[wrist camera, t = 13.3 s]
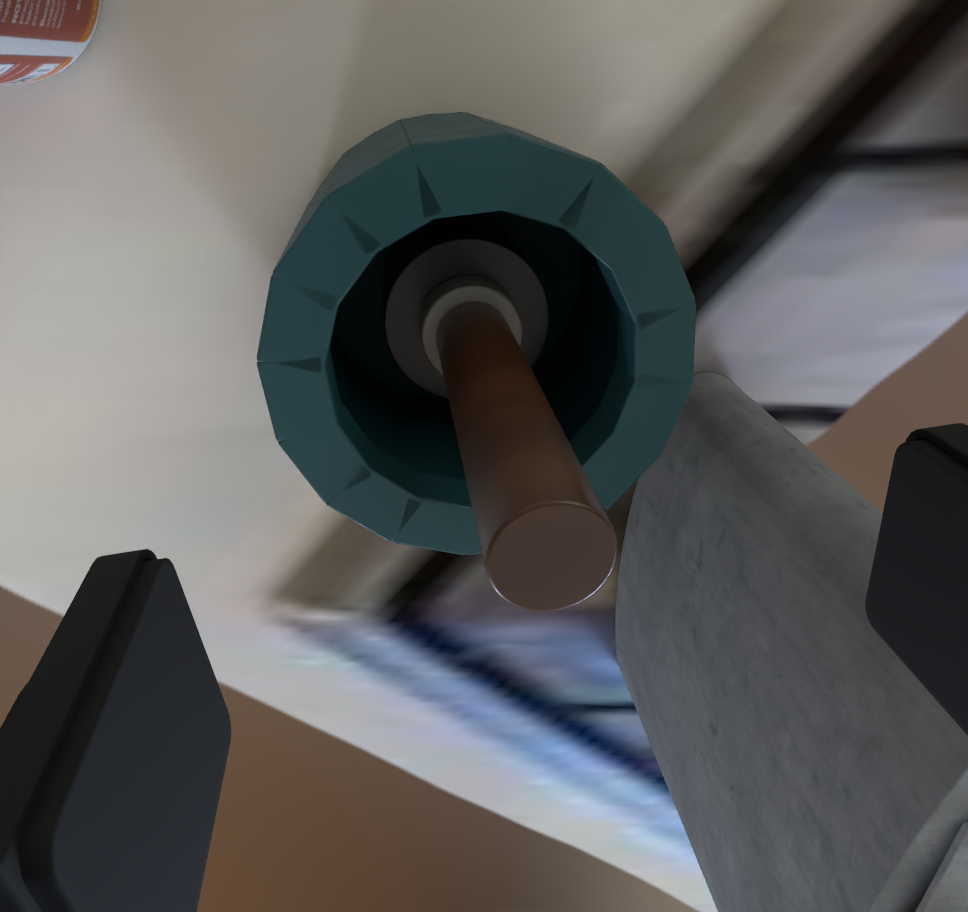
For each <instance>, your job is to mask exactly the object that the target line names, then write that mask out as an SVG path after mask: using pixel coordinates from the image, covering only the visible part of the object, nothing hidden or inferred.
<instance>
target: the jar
mask: <svg viewBox="0 0 968 912" xmlns="http://www.w3.org/2000/svg"><path fill="white" fill-rule="evenodd" d="M478 213H479V214H482V215H483V216H485V217H487V218H489V219H491V220H492V221H493V222H495V223H496V224H497V225H498V226H499V227H500V228H501V229H502V230H504V232H505V233H506V234H507V235H508V237H509V238H510V239H511V240H512V242H513V243H514V244H515V246H516V247H517V248H518V249H519V251H520V252H521V253H522V254H523V256H524V257H525V258H526V259H527V261H528V262H529V263H530V264H531V266H532V267H533V268H534V269H535V271H536V272H537V274H538V275H539V277H540V279H541V280H542V283H543V285H544V287H545V290H546V293H547V296H548V300H549V307H550V326H549V333H548V337H547V340H546V344H545V346H544V348H543V351H542V353H541V355H540V356H539V358H538V360H537V362H536V363H535V364H534V366H533V367H532V368H531V370H532V371H533V373H534V375H535V377H536V379H537V381H538V383H539V385H540V387H541V389H542V391H543V393H544V395H545V397H546V399H547V400H548V402H549V404H550V406H551V408H552V410H553V412H554V414H555V416H556V418H557V420H558V422H559V424H560V426H561V428H562V429H563V431H564V433H565V435H566V437H567V439H568V441H569V443H570V445H571V447H572V449H573V451H574V453H575V455H576V457H577V458H578V460H579V462H580V464H581V466H582V468H583V470H584V472H585V474H586V476H587V478H588V480H589V482H590V484H591V486H592V487H593V489H594V491H595V493H596V495H597V497H598V499H599V501H600V503H601V505H602V507H603V509H604V511H605V510H606V508H607V509H609V508H610V507H611V506H612V505H613V504H614V503H615V502H616V501H617V500H618V499H619V498H620V497H621V496H622V495H623V494H624V493H625V492H626V491H627V490H628V489H629V488H630V487H631V486H632V485H633V484H634V483H635V482H636V480H637V479H638V478H639V477H640V476H641V475H642V474H643V473H644V472H645V471H646V470H647V469H648V468H649V467H650V466H651V465H652V464H653V463H654V462H655V461H656V460H657V459H658V458H659V457H660V455H661V453H662V452H663V450H664V447H665V445H666V443H667V441H668V438H669V436H670V434H671V432H672V429H673V427H674V425H675V423H676V420H677V418H678V416H679V414H680V412H681V409H682V407H683V405H684V403H685V400H686V398H687V396H688V394H689V391H690V389H691V387H692V382H693V370H694V344H695V318H696V304H695V298H694V295H693V293H692V290H691V288H690V285H689V283H688V280H687V277H686V275H685V272H684V270H683V267H682V265H681V262H680V260H679V257H678V255H677V252H676V250H675V247H674V244H673V242H672V239H671V237H670V234H669V232H668V229H667V227H666V226H665V225H664V222H663V221H662V220H661V219H660V218H659V217H658V216H657V215H656V214H655V213H654V212H653V211H652V210H650V209H649V208H648V207H647V206H646V205H645V204H644V203H643V202H642V201H641V200H640V199H639V198H638V197H637V196H636V195H635V194H634V193H633V192H631V191H630V190H629V189H628V188H627V187H626V186H625V185H624V184H623V183H622V182H621V181H620V180H619V179H618V178H617V177H616V176H615V175H614V174H612V173H611V172H610V171H609V170H608V169H607V168H606V167H605V166H604V165H603V164H601V163H599V162H598V161H596V160H593V159H591V158H588V157H586V156H583V155H581V154H578V153H576V152H573V151H571V150H568V149H566V148H563V147H561V146H558V145H556V144H554V143H551V142H549V141H546V140H544V139H541V138H539V137H536V136H534V135H531V134H529V133H526V132H524V131H521V130H518V129H515V128H512V127H509V126H506V125H503V124H500V123H497V122H494V121H492V120H488V119H485V118H482V117H478V116H475V115H472V114H469V113H463V112H458V113H447V114H429V115H423V116H418V117H413V118H406V119H401V120H400V121H399V120H397V121H396V122H394V123H392V124H391V125H389V126H387V127H385V128H383V129H381V130H379V131H377V132H375V133H373V134H371V135H370V136H369V137H367V138H366V139H364V140H363V141H361V142H360V143H359V144H357V145H356V146H354V147H353V148H351V149H350V150H348V151H346V152H345V154H343V155H342V156H341V158H340V159H339V161H338V162H337V163H336V165H335V166H334V168H333V169H332V171H331V172H330V173H329V175H328V176H327V177H326V179H325V181H324V182H323V184H322V185H321V187H320V188H319V190H318V191H317V193H316V194H315V196H314V197H313V199H312V200H311V201H310V203H309V204H308V206H307V208H306V210H305V212H304V214H303V216H302V218H301V220H300V221H299V223H298V225H297V227H296V229H295V231H294V233H293V235H292V237H291V239H290V241H289V242H288V244H287V246H286V248H285V250H284V252H283V254H282V256H281V258H280V259H279V261H278V263H277V265H276V267H275V269H274V271H273V275H272V276H271V280H270V286H269V291H268V297H267V302H266V308H265V314H264V319H263V325H262V331H261V336H260V342H259V348H258V353H257V360H258V362H257V367H258V371H259V375H260V378H261V382H262V386H263V390H264V394H265V398H266V402H267V406H268V409H269V413H270V417H271V421H272V425H273V429H274V433H275V437H276V439H277V441H278V443H279V445H280V446H281V447H282V449H283V450H284V451H285V453H286V454H287V455H288V456H289V458H290V459H291V460H292V462H293V463H294V464H295V465H296V467H297V468H298V469H299V470H300V472H301V473H302V474H303V476H304V477H305V478H306V479H307V481H308V482H309V483H310V485H311V486H312V487H313V488H314V490H315V491H316V492H317V494H318V495H319V496H320V497H321V499H322V500H323V501H324V502H325V503H326V505H327V506H329V507H331V508H333V509H334V510H336V511H338V512H339V513H341V514H343V515H345V516H346V517H348V518H350V519H351V520H353V521H355V522H357V523H358V524H360V525H362V526H363V527H365V528H367V529H369V530H370V531H372V532H374V533H375V534H377V535H379V536H381V537H382V538H384V539H386V540H387V541H389V542H392V541H393V542H394V543H398V544H404V545H410V546H415V547H421V548H427V549H432V550H438V551H443V552H449V553H455V554H460V555H465V554H467V555H473V554H479V553H482V551H481V546H480V542H479V537H478V533H477V528H476V523H475V519H474V514H473V509H472V505H471V500H470V496H469V491H468V486H467V482H466V477H465V473H464V468H463V463H462V459H461V454H460V449H459V445H458V440H457V436H456V431H455V426H454V422H453V417H452V413H451V408H450V403H449V399H447V398H443V397H439V396H436V395H434V394H431V393H429V392H427V391H425V390H423V389H422V388H420V387H418V386H417V385H415V384H414V383H413V382H412V381H410V380H409V379H408V378H407V377H406V376H405V375H404V374H403V373H402V372H401V370H400V369H399V368H398V366H397V365H396V363H395V362H394V360H393V358H392V356H391V354H390V352H389V349H388V347H387V344H386V340H385V335H384V327H383V292H382V274H383V266H384V261H385V258H386V255H387V252H388V250H389V248H390V246H391V244H393V243H394V242H396V241H398V240H399V239H401V238H403V237H404V236H406V235H408V234H410V233H411V232H413V231H415V230H416V229H418V228H420V227H422V226H423V225H425V224H427V223H428V222H430V221H432V220H434V219H437V218H445V217H454V216H462V215H470V214H478Z"/></svg>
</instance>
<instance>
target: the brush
mask: <svg viewBox="0 0 968 912" xmlns="http://www.w3.org/2000/svg"><path fill="white" fill-rule="evenodd" d="M382 292H383V327H384V335H385V340H386V344H387V347H388V349H389V352H390V354H391V356H392V358H393V360H394V362H395V363H396V365H397V366H398V368H399V369H400V370H401V372H402V373H403V374H404V375H405V376H406V377H407V378H408V379H409V380H410V381H412V382H413V383H414V384H415V385H417V386H418V387H420V388H422V389H423V390H425V391H427V392H429V393H431V394H434V395H436V396H439V397H443V398H447V399H449V403H450V408H451V413H452V417H453V422H454V426H455V431H456V436H457V440H458V445H459V449H460V454H461V459H462V463H463V468H464V473H465V477H466V482H467V486H468V491H469V496H470V500H471V505H472V509H473V514H474V519H475V523H476V528H477V533H478V537H479V542H480V546H481V551H482V556H483V560H484V565H485V569H486V574H487V577H488V579H489V582H490V583H491V585H492V587H493V588H494V589H495V591H496V592H497V593H498V594H499V595H500V596H501V597H502V598H504V599H505V600H506V601H508V602H509V603H511V604H513V605H515V606H517V607H520V608H523V609H527V610H531V611H556V610H561V609H565V608H568V607H571V606H574V605H576V604H578V603H580V602H582V601H584V600H586V599H587V598H589V597H590V596H591V595H593V594H594V593H595V592H596V591H597V590H599V589H600V588H601V586H602V585H603V584H604V583H605V582H606V580H607V579H608V577H609V576H610V574H611V572H612V570H613V568H614V565H615V562H616V557H617V550H618V544H617V537H616V533H615V531H614V528H613V526H612V524H611V522H610V520H609V518H608V516H607V514H606V513H605V511H604V509H603V507H602V505H601V503H600V501H599V499H598V497H597V495H596V493H595V491H594V489H593V487H592V486H591V484H590V482H589V480H588V478H587V476H586V474H585V472H584V470H583V468H582V466H581V464H580V462H579V460H578V458H577V457H576V455H575V453H574V451H573V449H572V447H571V445H570V443H569V441H568V439H567V437H566V435H565V433H564V431H563V429H562V428H561V426H560V424H559V422H558V420H557V418H556V416H555V414H554V412H553V410H552V408H551V406H550V404H549V402H548V400H547V399H546V397H545V395H544V393H543V391H542V389H541V387H540V385H539V383H538V381H537V379H536V377H535V375H534V373H533V371H532V370H531V368H532V367H533V366H534V364H535V363H536V362H537V360H538V358H539V356H540V355H541V353H542V351H543V348H544V346H545V344H546V340H547V337H548V333H549V326H550V307H549V300H548V296H547V293H546V290H545V287H544V285H543V283H542V280H541V279H540V277H539V275H538V274H537V272H536V271H535V269H534V268H533V267H532V266H531V264H530V263H529V262H528V261H527V259H526V258H525V257H524V256H523V254H522V253H521V252H520V251H519V249H518V248H517V247H516V246H515V244H514V243H513V242H512V240H511V239H510V238H509V237H508V235H507V234H506V233H505V232H504V230H502V229H501V228H500V227H499V226H498V225H497V224H496V223H495V222H493V221H492V220H491V219H489V218H487V217H485V216H483V215H482V214H479V213H478V214H470V215H462V216H454V217H445V218H437V219H434V220H432V221H430V222H428V223H427V224H425V225H423V226H422V227H420V228H418V229H416V230H415V231H413V232H411V233H410V234H408V235H406V236H404V237H403V238H401V239H399V240H398V241H396V242H394V243H393V244H391V246H390V248H389V250H388V252H387V255H386V258H385V261H384V266H383V274H382Z"/></svg>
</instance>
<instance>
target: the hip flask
mask: <svg viewBox="0 0 968 912" xmlns="http://www.w3.org/2000/svg"><path fill="white" fill-rule="evenodd" d="M882 516H883V513H881V512H880V511H879V510H878V509H877V508H876V507H874V506H873V505H872V504H871V503H870V502H869V501H868V500H867V499H865V498H864V497H863V496H862V495H861V494H860V493H859V492H857V491H856V490H855V489H854V488H853V487H852V486H851V485H849V484H848V483H847V482H846V481H845V480H844V479H843V478H841V477H840V476H839V475H838V474H837V473H836V472H834V471H833V470H832V469H831V468H830V467H829V466H828V465H827V464H825V463H824V462H823V461H822V460H821V459H819V457H817V456H816V455H815V454H814V453H813V452H812V451H810V450H809V449H808V448H807V447H806V446H805V445H804V444H803V443H801V442H800V441H799V440H798V439H797V438H796V437H795V436H793V435H792V434H791V433H790V432H789V431H788V430H787V429H785V428H784V427H783V426H782V425H781V424H780V423H779V422H777V421H776V420H775V419H774V418H773V417H772V416H771V415H769V414H768V413H767V412H766V411H765V410H764V409H763V408H761V407H760V406H759V405H758V404H757V403H756V402H755V401H753V400H752V399H751V398H750V397H749V396H748V395H747V394H745V393H744V392H743V391H742V390H741V389H740V388H739V387H737V386H736V385H735V384H734V383H733V382H732V381H731V380H729V379H728V378H727V377H725V376H723V375H721V374H718V373H712V372H703V373H699V374H695V375H693V382H692V387H691V389H690V391H689V394H688V396H687V398H686V400H685V403H684V405H683V407H682V409H681V412H680V414H679V416H678V418H677V420H676V423H675V425H674V427H673V429H672V432H671V434H670V436H669V438H668V441H667V443H666V445H665V447H664V450H663V452H662V453H661V455H660V457H659V458H658V459H657V460H656V461H655V462H654V463H653V464H652V465H651V466H650V467H649V468H648V469H647V470H646V471H645V472H644V473H643V474H642V475H641V476H640V477H639V478H638V481H637V485H636V488H635V492H634V495H633V499H632V503H631V508H630V512H629V516H628V521H627V526H626V531H625V536H624V542H623V548H622V554H621V559H620V566H619V574H618V582H617V594H616V609H615V642H616V657H617V662H618V665H619V668H620V670H621V673H622V675H623V678H624V680H625V682H626V685H627V687H628V690H629V692H630V695H631V697H632V700H633V702H634V705H635V707H636V710H637V712H638V715H639V717H640V720H641V722H642V725H643V727H644V729H645V732H646V734H647V737H648V739H649V742H650V744H651V747H652V749H653V752H654V754H655V757H656V759H657V762H658V764H659V767H660V769H661V772H662V774H663V776H664V779H665V781H666V784H667V786H668V789H669V791H670V794H671V796H672V799H673V801H674V804H675V806H676V809H677V811H678V814H679V816H680V819H681V821H682V824H683V826H684V828H685V831H686V833H687V836H688V838H689V841H690V843H691V846H692V848H693V851H694V853H695V856H696V858H697V861H698V863H699V866H700V868H701V871H702V873H703V875H704V878H705V880H706V883H707V885H708V888H709V890H710V893H711V895H712V898H713V900H714V903H715V905H716V908H717V910H718V912H968V735H967V734H966V733H965V732H964V731H963V730H962V729H961V727H960V726H959V725H958V724H957V723H956V722H955V721H954V720H953V718H952V717H951V716H950V715H949V714H948V713H947V712H946V710H945V709H944V708H943V707H942V706H941V705H940V704H939V703H938V701H937V700H936V699H935V698H934V697H933V696H932V695H931V693H930V692H929V691H928V690H927V689H926V688H925V687H924V686H923V684H922V683H921V682H920V681H919V680H918V679H917V678H916V676H915V675H914V674H913V673H912V672H911V671H910V670H909V669H908V667H907V666H906V665H905V664H904V663H903V662H902V661H901V659H900V658H899V657H898V656H897V655H896V654H895V653H894V652H893V650H892V649H891V648H890V647H889V646H888V645H887V644H886V642H885V641H884V640H883V639H882V638H881V637H880V636H879V635H878V633H877V632H876V631H875V630H874V629H873V627H872V626H871V624H870V622H869V620H868V617H867V614H866V609H865V600H866V595H867V590H868V585H869V580H870V575H871V570H872V565H873V560H874V555H875V550H876V545H877V540H878V535H879V531H880V526H881V521H882Z"/></svg>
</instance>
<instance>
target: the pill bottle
mask: <svg viewBox="0 0 968 912" xmlns="http://www.w3.org/2000/svg"><path fill="white" fill-rule="evenodd" d="M101 5H102V0H0V84H17V83H27V82H33V81H37V80H41V79H44V78H48V77H50V76H52V75H54V74H57V73H58V72H60V71H62V70H64V69H65V68H66V67H68V66H69V65H70V64H72V63H73V62H74V61H75V60H76V59H77V58H78V57H79V56H80V55H81V54H82V52H83V51H84V50H85V48H86V47H87V45H88V44H89V42H90V40H91V38H92V36H93V34H94V32H95V30H96V27H97V24H98V20H99V17H100V12H101Z"/></svg>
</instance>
